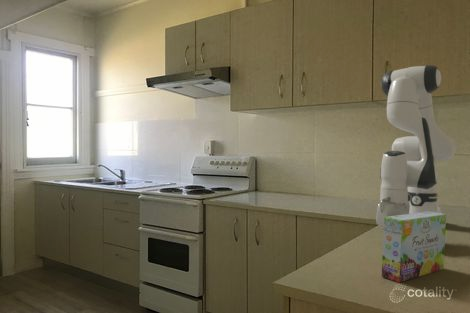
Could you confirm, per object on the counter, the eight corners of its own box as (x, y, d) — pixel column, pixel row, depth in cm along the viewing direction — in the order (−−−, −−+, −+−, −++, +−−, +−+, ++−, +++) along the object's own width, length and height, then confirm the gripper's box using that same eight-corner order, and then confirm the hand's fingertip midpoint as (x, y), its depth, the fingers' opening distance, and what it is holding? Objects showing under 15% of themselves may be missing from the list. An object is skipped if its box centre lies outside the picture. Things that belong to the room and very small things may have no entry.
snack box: (402, 284, 89) (403, 219, 89) (380, 277, 93) (381, 216, 93) (445, 269, 101) (447, 212, 101) (424, 264, 106) (426, 210, 106)
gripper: (390, 199, 124) (389, 242, 124) (413, 195, 139) (412, 233, 139) (371, 198, 129) (371, 238, 129) (395, 194, 143) (394, 230, 144)
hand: (392, 236), depth 134 cm, fingers closed
